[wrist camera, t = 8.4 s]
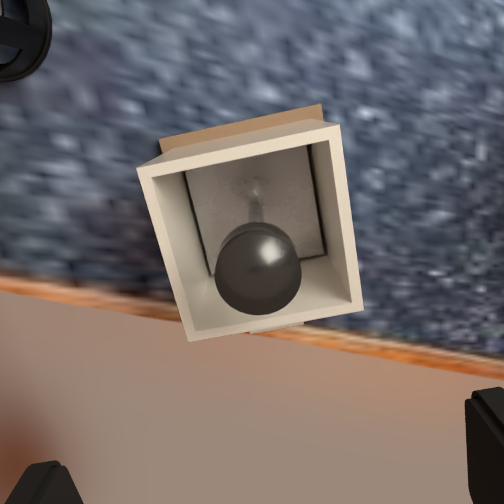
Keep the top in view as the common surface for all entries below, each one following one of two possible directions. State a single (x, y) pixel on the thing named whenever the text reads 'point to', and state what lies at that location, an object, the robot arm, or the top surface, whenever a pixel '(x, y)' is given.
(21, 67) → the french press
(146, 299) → the top surface
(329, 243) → the white open box
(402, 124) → the top surface
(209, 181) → the plunger
